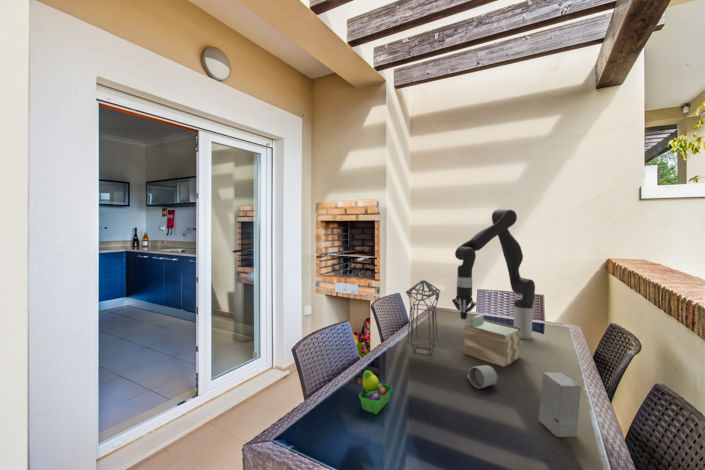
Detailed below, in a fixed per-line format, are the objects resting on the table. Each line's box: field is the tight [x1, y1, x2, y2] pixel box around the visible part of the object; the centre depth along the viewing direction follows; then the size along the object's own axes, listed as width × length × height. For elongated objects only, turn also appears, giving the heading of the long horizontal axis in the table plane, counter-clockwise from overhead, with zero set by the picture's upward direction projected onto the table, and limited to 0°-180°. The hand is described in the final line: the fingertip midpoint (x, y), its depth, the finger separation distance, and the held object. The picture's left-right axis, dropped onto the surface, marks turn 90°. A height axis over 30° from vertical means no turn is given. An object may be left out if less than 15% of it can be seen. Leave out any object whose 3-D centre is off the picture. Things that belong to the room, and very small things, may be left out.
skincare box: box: [538, 371, 582, 438], centre depth 95 cm, size 8×7×16 cm
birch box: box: [463, 318, 521, 368], centre depth 151 cm, size 17×19×14 cm
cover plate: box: [469, 314, 519, 339], centre depth 150 cm, size 15×18×5 cm
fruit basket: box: [358, 369, 393, 415], centre depth 107 cm, size 11×9×11 cm
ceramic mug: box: [466, 364, 498, 389], centre depth 123 cm, size 11×8×8 cm
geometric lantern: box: [405, 279, 441, 356], centre depth 155 cm, size 16×16×35 cm
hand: (463, 319), depth 162 cm, fingers closed
